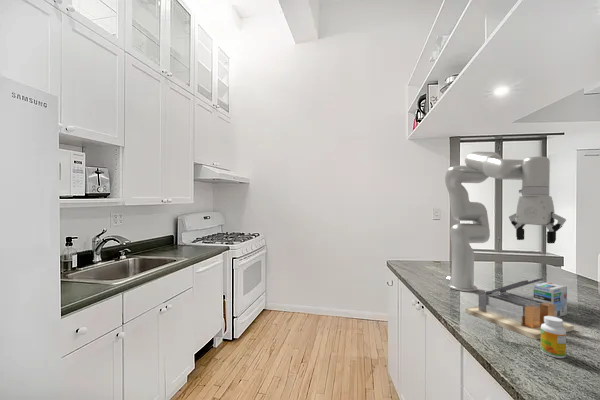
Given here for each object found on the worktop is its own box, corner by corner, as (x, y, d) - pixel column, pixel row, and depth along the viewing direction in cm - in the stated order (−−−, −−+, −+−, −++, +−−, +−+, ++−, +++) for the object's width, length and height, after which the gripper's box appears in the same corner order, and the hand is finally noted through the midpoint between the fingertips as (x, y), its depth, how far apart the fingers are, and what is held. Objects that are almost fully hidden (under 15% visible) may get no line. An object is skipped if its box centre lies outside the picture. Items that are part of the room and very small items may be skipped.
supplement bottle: (535, 349, 85) (535, 314, 85) (552, 348, 86) (553, 314, 86) (552, 359, 80) (553, 322, 80) (571, 358, 80) (571, 322, 80)
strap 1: (484, 295, 111) (483, 292, 112) (490, 294, 112) (488, 291, 113) (524, 283, 99) (522, 280, 99) (529, 282, 100) (527, 279, 100)
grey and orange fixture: (478, 310, 112) (478, 293, 112) (503, 305, 117) (503, 289, 117) (530, 329, 95) (530, 309, 95) (556, 322, 101) (556, 304, 101)
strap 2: (499, 293, 114) (497, 289, 115) (504, 292, 115) (502, 289, 116) (539, 281, 102) (537, 278, 102) (544, 280, 103) (542, 277, 103)
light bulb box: (553, 319, 108) (554, 289, 108) (532, 312, 114) (532, 284, 114) (567, 314, 113) (567, 285, 113) (546, 308, 119) (546, 281, 119)
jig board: (465, 312, 113) (465, 308, 113) (500, 306, 121) (500, 302, 121) (536, 339, 91) (536, 334, 91) (573, 330, 99) (573, 325, 99)
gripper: (503, 192, 111) (502, 238, 111) (558, 191, 95) (558, 245, 95) (516, 193, 114) (515, 238, 114) (571, 192, 98) (571, 244, 98)
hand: (535, 241), depth 104 cm, fingers open, 9 cm apart
